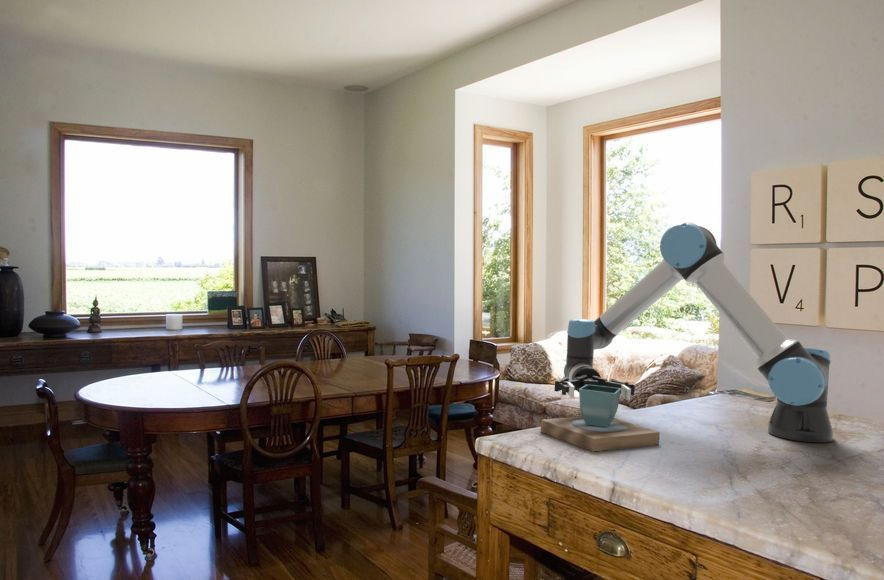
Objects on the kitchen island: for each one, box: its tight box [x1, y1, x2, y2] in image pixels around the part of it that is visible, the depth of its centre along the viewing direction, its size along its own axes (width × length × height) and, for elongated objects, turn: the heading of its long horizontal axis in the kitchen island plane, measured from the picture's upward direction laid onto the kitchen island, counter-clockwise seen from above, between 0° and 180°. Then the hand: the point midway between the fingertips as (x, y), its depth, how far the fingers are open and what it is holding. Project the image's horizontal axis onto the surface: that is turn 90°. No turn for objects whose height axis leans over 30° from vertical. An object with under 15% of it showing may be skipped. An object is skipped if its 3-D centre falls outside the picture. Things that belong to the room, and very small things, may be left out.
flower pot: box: [578, 385, 621, 427], centre depth 170 cm, size 9×9×9 cm
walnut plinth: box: [540, 415, 661, 452], centre depth 170 cm, size 20×20×3 cm
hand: (600, 393), depth 169 cm, fingers open, 13 cm apart
